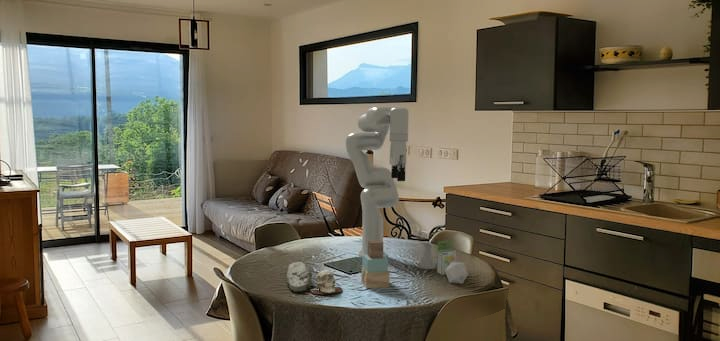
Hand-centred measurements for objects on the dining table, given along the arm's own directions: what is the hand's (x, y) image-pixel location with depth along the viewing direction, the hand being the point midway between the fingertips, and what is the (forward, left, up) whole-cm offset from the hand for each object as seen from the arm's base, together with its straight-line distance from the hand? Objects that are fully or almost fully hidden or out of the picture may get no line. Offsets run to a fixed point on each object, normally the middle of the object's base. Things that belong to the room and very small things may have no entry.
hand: (398, 179), depth 242 cm
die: (+20, +19, -38) cm, 47 cm away
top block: (+17, -13, -32) cm, 39 cm away
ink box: (+8, +19, -38) cm, 44 cm away
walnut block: (+17, -13, -28) cm, 35 cm away
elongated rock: (+6, -42, -39) cm, 57 cm away
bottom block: (+17, -13, -38) cm, 44 cm away
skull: (+23, -33, -39) cm, 56 cm away
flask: (-2, +14, -39) cm, 41 cm away
